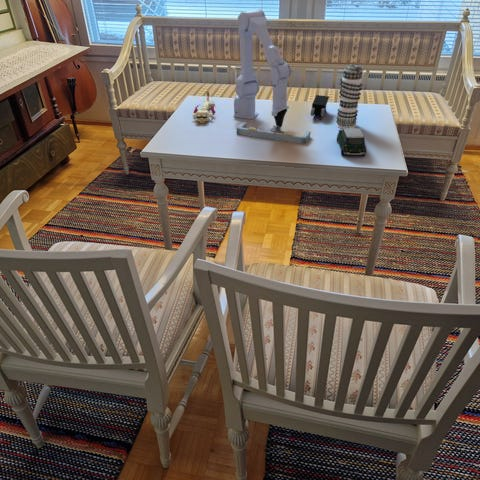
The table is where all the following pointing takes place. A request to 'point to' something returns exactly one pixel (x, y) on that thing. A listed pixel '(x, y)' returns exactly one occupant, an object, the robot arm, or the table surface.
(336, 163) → the table surface
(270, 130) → the propeller
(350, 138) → the miniature car
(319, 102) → the figurine character
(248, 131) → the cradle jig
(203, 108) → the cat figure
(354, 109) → the model tower building
